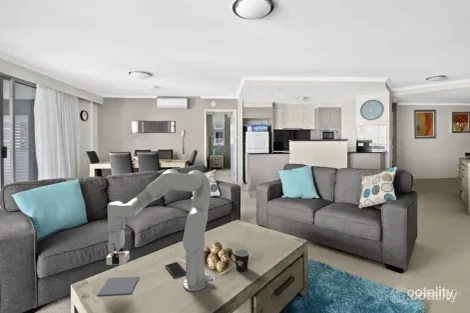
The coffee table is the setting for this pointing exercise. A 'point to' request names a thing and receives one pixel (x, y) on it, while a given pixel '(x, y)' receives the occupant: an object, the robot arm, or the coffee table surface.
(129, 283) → the mat
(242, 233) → the coffee table surface
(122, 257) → the card box
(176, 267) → the phone
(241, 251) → the coffee mug
